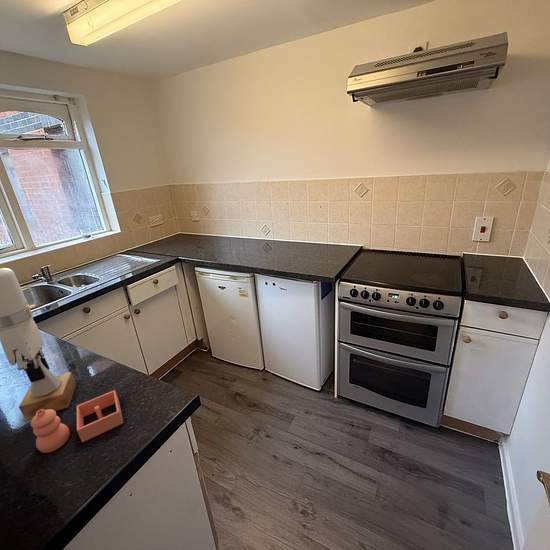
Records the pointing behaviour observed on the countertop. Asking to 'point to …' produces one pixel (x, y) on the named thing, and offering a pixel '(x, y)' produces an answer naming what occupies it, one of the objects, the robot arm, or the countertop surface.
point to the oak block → (49, 398)
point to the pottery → (57, 434)
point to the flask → (44, 381)
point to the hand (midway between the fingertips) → (40, 375)
